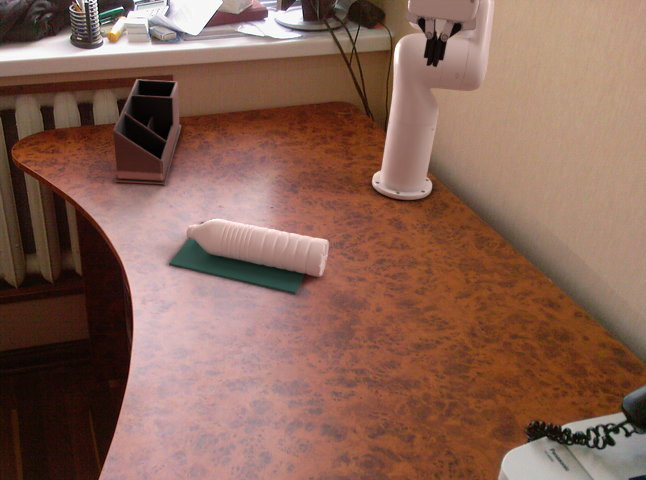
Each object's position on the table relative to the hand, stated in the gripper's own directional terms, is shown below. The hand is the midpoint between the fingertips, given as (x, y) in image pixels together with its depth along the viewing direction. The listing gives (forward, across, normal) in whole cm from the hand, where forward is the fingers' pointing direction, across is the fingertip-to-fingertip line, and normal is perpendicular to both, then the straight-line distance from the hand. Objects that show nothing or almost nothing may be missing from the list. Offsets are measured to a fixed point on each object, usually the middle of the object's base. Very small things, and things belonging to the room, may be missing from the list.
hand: (432, 63), depth 115 cm
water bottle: (+32, +11, +12) cm, 36 cm away
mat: (+35, +26, +12) cm, 45 cm away
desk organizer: (+35, +59, -19) cm, 71 cm away
